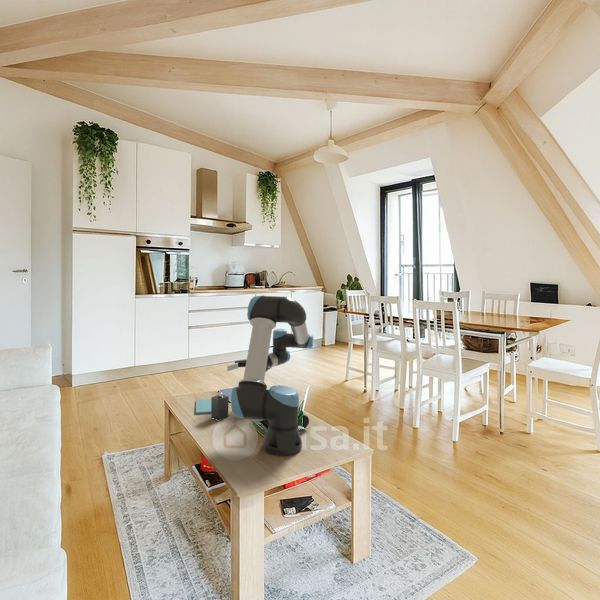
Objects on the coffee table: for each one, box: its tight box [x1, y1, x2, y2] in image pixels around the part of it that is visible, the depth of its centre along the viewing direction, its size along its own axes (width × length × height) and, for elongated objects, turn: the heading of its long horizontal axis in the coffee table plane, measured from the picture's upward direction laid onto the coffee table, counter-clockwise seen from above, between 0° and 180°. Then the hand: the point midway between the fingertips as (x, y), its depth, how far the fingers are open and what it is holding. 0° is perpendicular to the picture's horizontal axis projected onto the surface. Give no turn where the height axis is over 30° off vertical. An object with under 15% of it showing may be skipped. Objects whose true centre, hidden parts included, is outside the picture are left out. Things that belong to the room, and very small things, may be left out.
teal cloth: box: [195, 398, 211, 415], centre depth 187 cm, size 18×12×1 cm, turn 15°
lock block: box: [210, 391, 230, 421], centre depth 173 cm, size 6×5×12 cm
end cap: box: [303, 413, 310, 429], centre depth 166 cm, size 10×7×7 cm
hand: (237, 371), depth 179 cm, fingers open, 13 cm apart
